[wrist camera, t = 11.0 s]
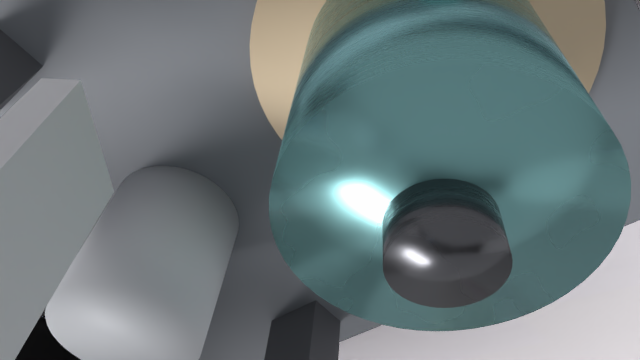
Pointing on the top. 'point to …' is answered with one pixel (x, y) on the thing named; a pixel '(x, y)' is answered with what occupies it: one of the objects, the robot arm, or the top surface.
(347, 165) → the teal rounded piece
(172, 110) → the grey tray with posts
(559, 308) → the top surface
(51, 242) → the robot arm
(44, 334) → the coffee jar
